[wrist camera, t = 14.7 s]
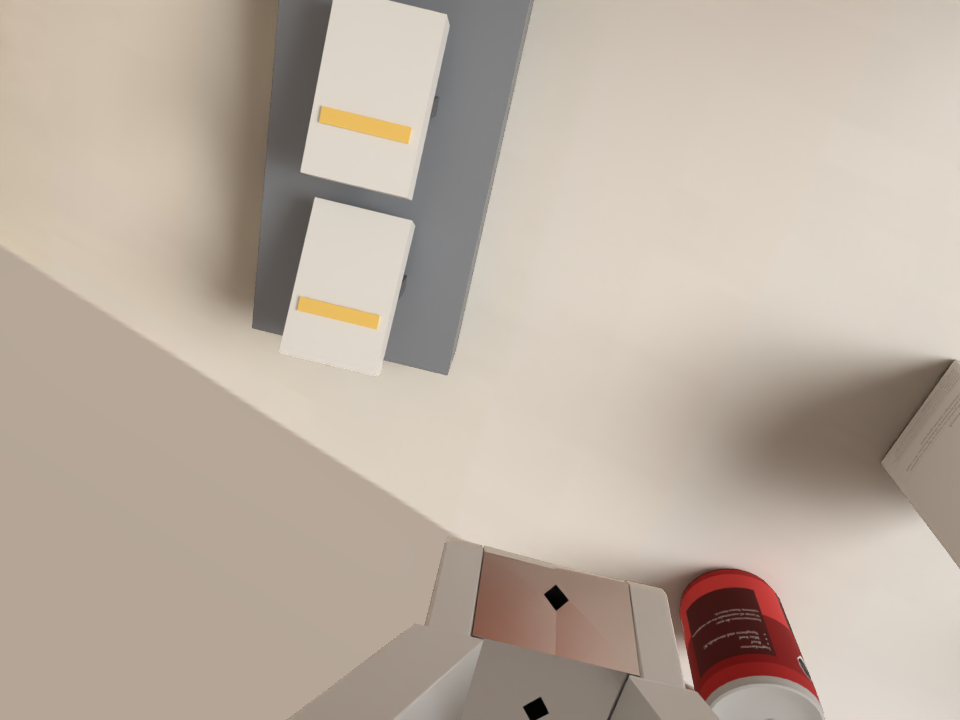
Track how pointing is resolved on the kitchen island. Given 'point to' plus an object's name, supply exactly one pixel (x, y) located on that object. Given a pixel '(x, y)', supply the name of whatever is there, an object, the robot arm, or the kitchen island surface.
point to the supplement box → (933, 461)
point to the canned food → (745, 650)
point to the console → (440, 181)
